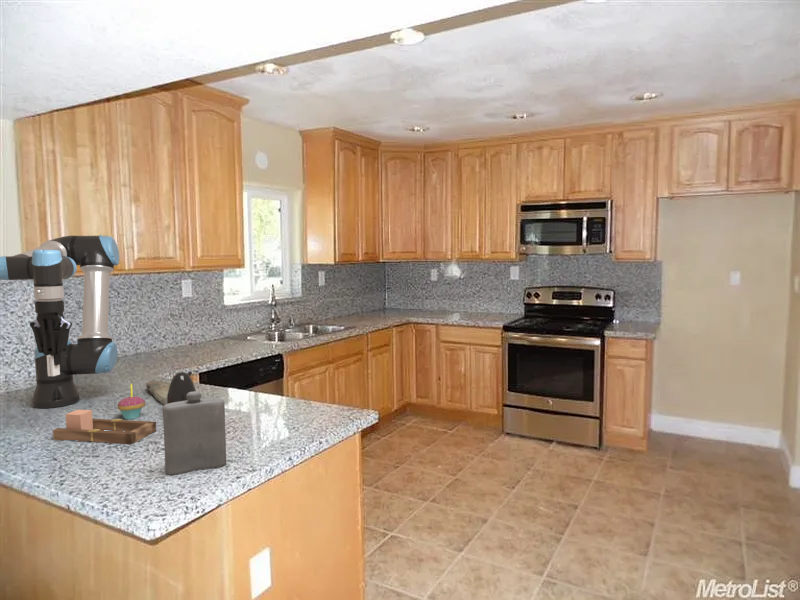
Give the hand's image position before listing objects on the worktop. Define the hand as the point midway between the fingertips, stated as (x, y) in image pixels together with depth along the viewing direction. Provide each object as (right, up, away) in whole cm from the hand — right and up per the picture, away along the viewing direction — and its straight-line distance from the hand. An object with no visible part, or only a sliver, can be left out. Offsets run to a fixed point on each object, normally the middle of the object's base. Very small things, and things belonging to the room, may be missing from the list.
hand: (53, 375), depth 165 cm
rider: (+8, -19, 0) cm, 20 cm away
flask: (+54, -21, -26) cm, 64 cm away
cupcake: (+16, -17, +17) cm, 29 cm away
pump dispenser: (+32, -17, +20) cm, 41 cm away
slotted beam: (+17, -19, -1) cm, 25 cm away
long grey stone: (+15, -15, +45) cm, 49 cm away
